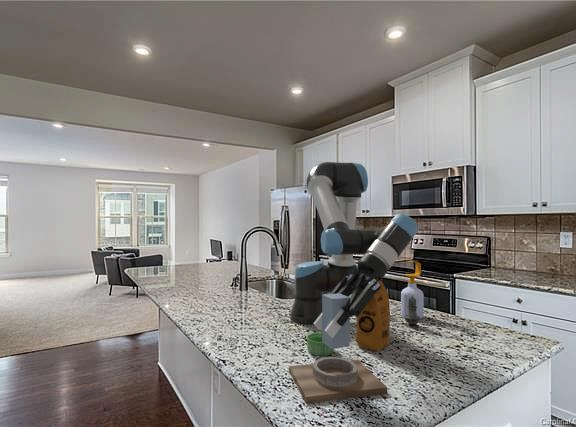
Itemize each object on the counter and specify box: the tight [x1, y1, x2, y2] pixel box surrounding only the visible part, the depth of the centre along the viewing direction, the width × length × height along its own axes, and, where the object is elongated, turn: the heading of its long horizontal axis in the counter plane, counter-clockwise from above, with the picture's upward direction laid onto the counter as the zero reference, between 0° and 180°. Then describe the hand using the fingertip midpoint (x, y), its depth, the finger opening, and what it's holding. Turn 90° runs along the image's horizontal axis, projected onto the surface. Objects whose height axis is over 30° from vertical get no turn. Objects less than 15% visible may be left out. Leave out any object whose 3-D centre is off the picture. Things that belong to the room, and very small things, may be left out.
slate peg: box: [321, 293, 351, 350], centre depth 84 cm, size 5×5×12 cm
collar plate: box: [288, 356, 388, 405], centre depth 84 cm, size 16×20×4 cm
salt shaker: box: [403, 295, 421, 329], centre depth 130 cm, size 6×6×12 cm
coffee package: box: [355, 280, 391, 352], centre depth 111 cm, size 10×12×22 cm
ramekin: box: [305, 332, 335, 357], centre depth 104 cm, size 9×9×4 cm
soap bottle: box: [400, 258, 425, 320], centre depth 143 cm, size 9×9×25 cm
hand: (322, 330), depth 82 cm, fingers closed on slate peg, 5 cm apart
